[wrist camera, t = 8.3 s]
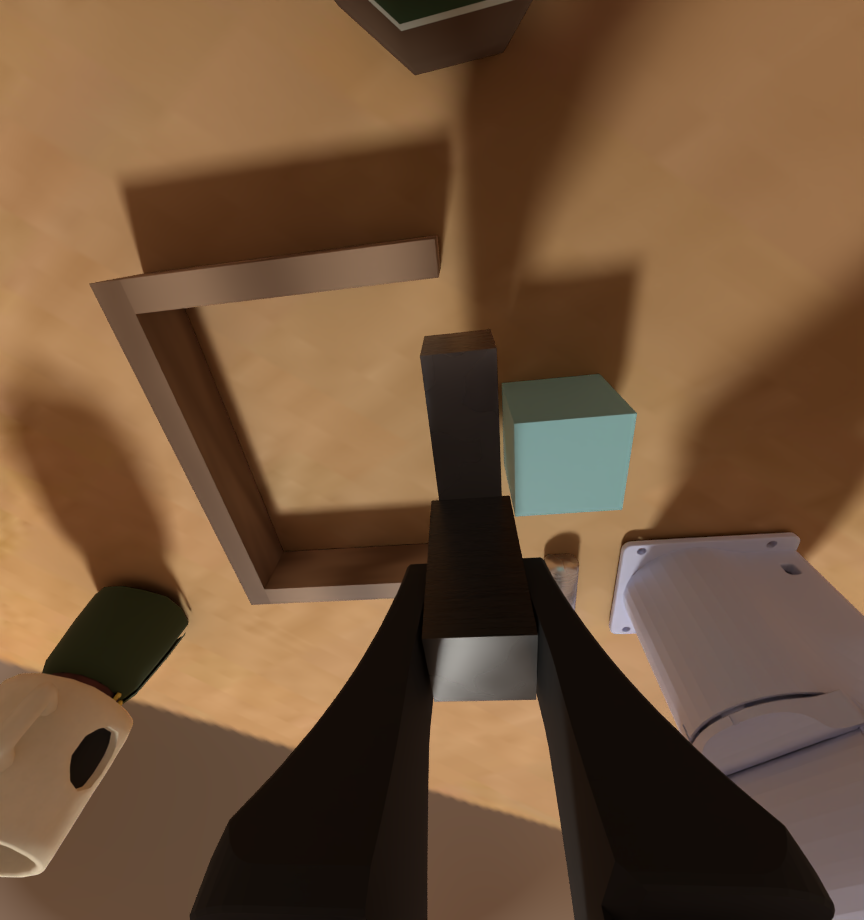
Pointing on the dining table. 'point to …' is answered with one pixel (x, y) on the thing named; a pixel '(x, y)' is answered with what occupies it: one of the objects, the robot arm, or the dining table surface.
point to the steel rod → (564, 574)
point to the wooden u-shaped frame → (209, 428)
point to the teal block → (566, 445)
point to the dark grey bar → (472, 535)
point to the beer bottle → (438, 28)
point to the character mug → (75, 719)
